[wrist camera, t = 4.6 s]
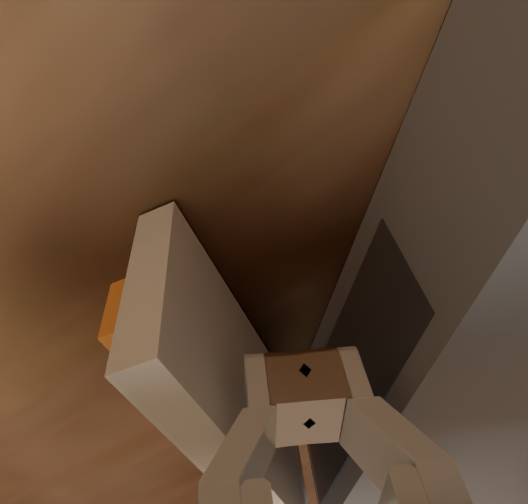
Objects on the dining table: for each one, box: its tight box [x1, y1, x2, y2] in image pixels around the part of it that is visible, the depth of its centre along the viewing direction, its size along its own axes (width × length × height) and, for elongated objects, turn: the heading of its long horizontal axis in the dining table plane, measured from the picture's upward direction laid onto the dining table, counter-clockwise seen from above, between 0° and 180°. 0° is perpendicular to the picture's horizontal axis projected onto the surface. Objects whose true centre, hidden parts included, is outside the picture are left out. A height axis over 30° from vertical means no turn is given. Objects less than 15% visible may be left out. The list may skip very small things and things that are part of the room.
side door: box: [97, 202, 308, 504], centre depth 15 cm, size 10×2×6 cm, turn 22°
